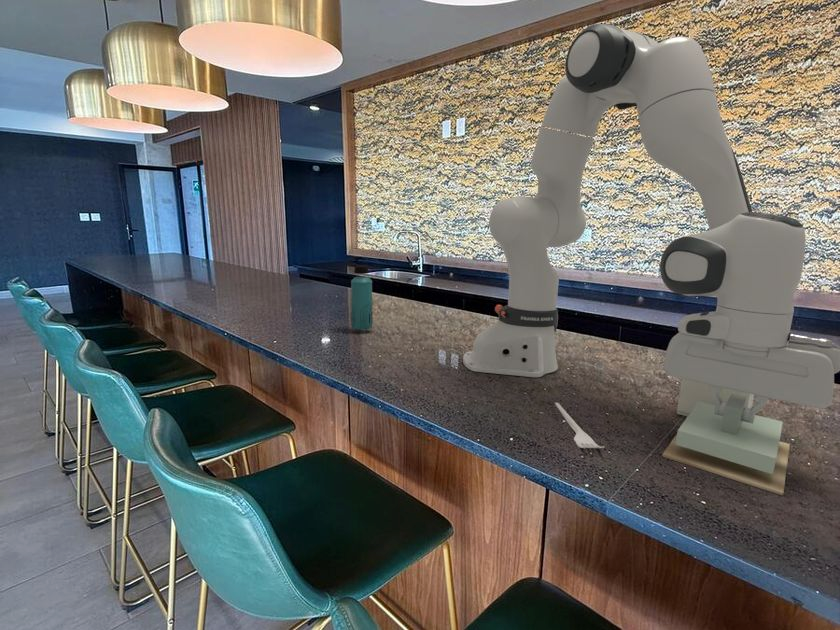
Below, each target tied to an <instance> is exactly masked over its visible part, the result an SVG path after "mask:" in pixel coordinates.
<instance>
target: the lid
mask: <svg viewBox="0 0 840 630" xmlns="http://www.w3.org/2000/svg"><path fill="white" fill-rule="evenodd" d="M747 397H748V396H744V395H739V394H735V393H732V394H731V396H730V398H729V399H728V401H727V403H726V405H725V409H724V415H723V416H721V415H716V414H714V410H715V405H712V404H708V403H704V402H700V401H698V403H697V404H696V405H695V407H694V408H693V410H692V411H691V412H690V414H689V415H688V416H686V418H685V419H684V420H683V422H682V424H680V427H679V428H678V429H677V433H676V434H677V439H676V445H679V446H682V447H685V448H688V449H692V450H695V451H698V452H701V453H705V454H708V455H711V456H715V457H718V458H721V459H724V460H728V461H731V462H734V463H737V464H741V465H744V466H747V467H750V468H754V469H757V470H760V471H763V472H767V473H770V474H773V472H774V467H775V462H776V457H777V452H778V446H779V441H780V440H781V435H782V429H783V424H784V421H782V420H777V419H774V418H770V417H765V416H761V415H757V414H755V418H754V422H753V424H752V423H748V422H744V421H741V418H742V416H743V415H742V413H743V409H744V407H746V402H747ZM780 442H781V441H780Z"/></svg>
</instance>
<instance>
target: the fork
mask: <svg viewBox="0 0 840 630" xmlns="http://www.w3.org/2000/svg"><path fill="white" fill-rule="evenodd" d="M554 404H555V406H556V407H557V409H558V410H559V411H560V413H561V415H562V416H563V418H564V419H565V420H566V422H567V423H568V425H569V426H570V427H571V429H572V430H573V431H574V432H575V435H574V437H573V441H574V442H575V444H576V445H577V447H578V448H581V449H604V448H605V445H603V446H600V445H599V444H597V443H596V442H595V441H594V440H593V437H591V436H589V434H587V433H586V432H585V431H584V430H583V429H582V428H581V427H580V426H579V425H578V424H577V423H576V421H575V420H574V419H573V418H572V416H571V415H570V414H569V413H567V411H566V410H565V409H564V408H563V407H562V405H561V404H560V403H559V402H554Z"/></svg>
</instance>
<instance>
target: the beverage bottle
mask: <svg viewBox="0 0 840 630" xmlns="http://www.w3.org/2000/svg"><path fill="white" fill-rule="evenodd" d="M354 274H358V275H359V274H361V275H364V274H365V275H366V274H369V266H367V265H356V266H354ZM350 285H351V286H350V296H351V298H350V323H351V324H350V326H351V328H352V329H354V330H360V331H361V330H362V331H363V330H370V329H372V328H373V320H374V319H373V318H374V316H373V280H372V279H371V278H370V277H368V276H355V277H353V279H351V281H350Z"/></svg>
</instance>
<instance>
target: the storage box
mask: <svg viewBox="0 0 840 630" xmlns="http://www.w3.org/2000/svg"><path fill="white" fill-rule="evenodd" d="M709 388H710V385H709V384H704V383H700V382H695V381H691V380H686V379H682V378H681V383H680V389H679V395H678V401H677V408H676V415H677V414H678V415H681V416H684V417H688V415H689V414H690V412H691V411H692V410H693V408H694V407H695V405H696V404H697V403H698V401H700V402H704V403H708V404H712V405H715V403H714V401H713V399H712V397H711V395H710V393H709ZM732 393H735V394H739V395H744V396H748V397H747V402H746V407H747V408H752V407H753V405H754V404H753V403H754V400H755V395H754V394H750V393H745V392H741V391H736V390H732V389H727V388H723V387H722V390H721V392H720V393H719V395H720V397H721V399H722V402H726V403H727V401H728V399H729V398H730V396H731V394H732Z"/></svg>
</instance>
